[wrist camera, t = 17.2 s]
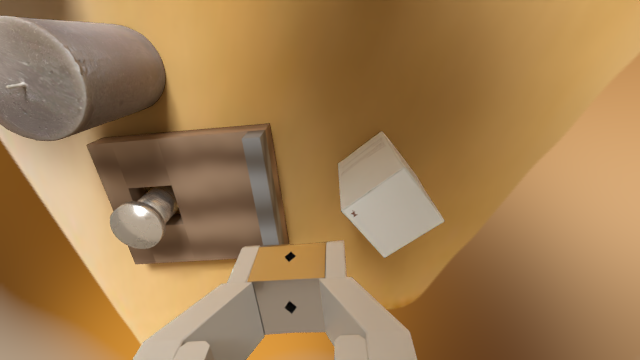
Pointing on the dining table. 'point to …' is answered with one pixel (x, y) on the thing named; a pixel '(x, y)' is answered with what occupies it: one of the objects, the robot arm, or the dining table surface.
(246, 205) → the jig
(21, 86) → the pillar candle
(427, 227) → the supplement box
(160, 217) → the frosted bulb shape
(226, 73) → the dining table surface
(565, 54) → the dining table surface
